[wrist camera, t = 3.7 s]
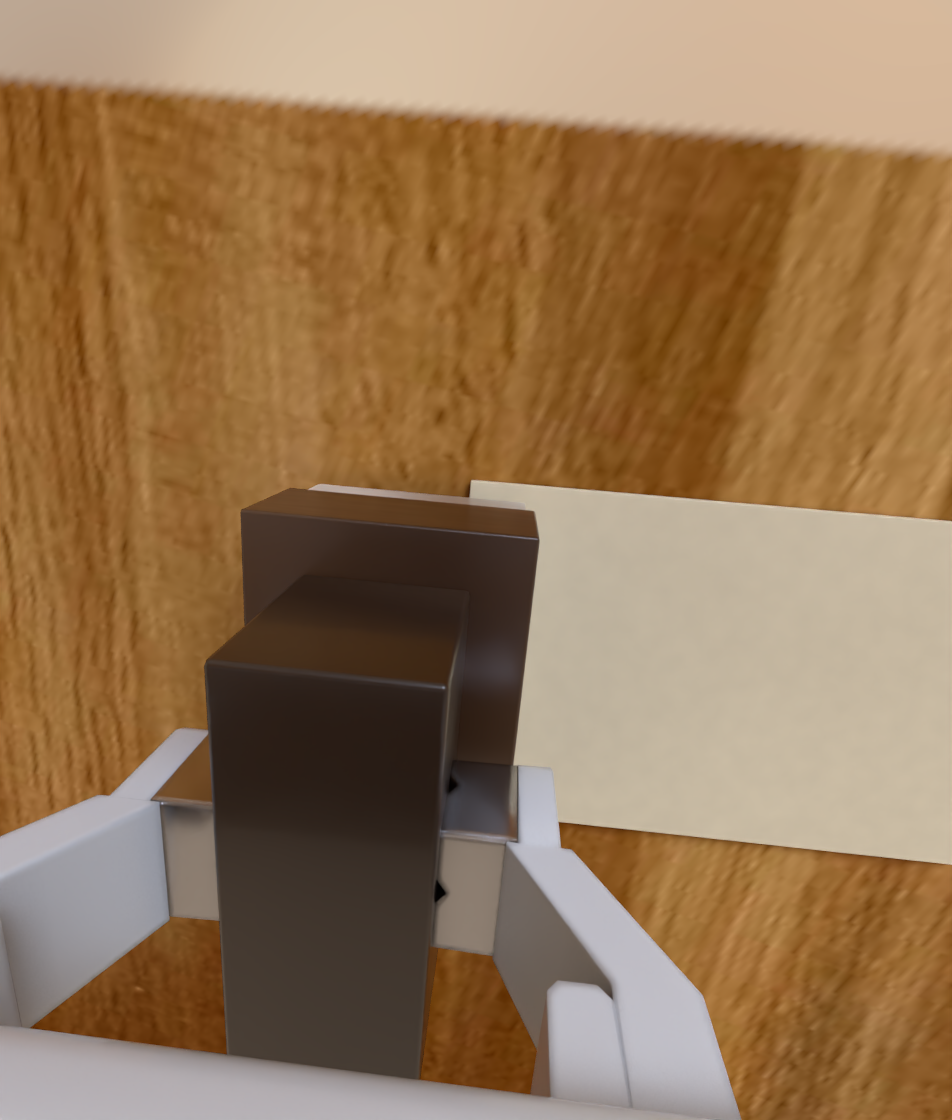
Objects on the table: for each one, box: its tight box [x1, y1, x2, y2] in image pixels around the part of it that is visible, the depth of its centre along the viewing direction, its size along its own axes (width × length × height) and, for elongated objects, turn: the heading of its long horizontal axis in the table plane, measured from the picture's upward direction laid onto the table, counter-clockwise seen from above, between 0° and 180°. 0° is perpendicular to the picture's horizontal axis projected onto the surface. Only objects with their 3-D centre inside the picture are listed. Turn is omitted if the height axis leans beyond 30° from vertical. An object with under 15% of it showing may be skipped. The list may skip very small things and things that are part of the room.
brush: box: [204, 484, 540, 1080], centre depth 10 cm, size 4×8×6 cm, turn 175°
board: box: [469, 480, 952, 865], centre depth 13 cm, size 12×8×1 cm, turn 86°
